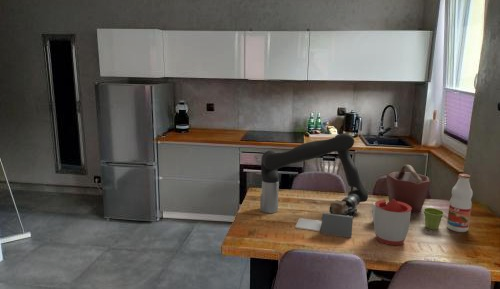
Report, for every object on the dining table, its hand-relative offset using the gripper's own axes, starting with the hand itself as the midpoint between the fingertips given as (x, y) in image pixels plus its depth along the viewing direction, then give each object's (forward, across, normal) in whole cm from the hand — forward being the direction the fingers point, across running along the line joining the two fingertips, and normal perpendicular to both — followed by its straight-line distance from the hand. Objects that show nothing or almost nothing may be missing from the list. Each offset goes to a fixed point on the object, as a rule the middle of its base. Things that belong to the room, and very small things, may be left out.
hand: (336, 214), depth 178 cm
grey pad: (+1, -14, +8) cm, 16 cm away
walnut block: (-3, 0, +8) cm, 9 cm away
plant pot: (-33, +38, +9) cm, 51 cm away
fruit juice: (-39, +49, +9) cm, 63 cm away
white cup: (-23, +15, +9) cm, 29 cm away
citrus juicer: (-6, +24, +9) cm, 26 cm away
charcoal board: (+4, +2, +8) cm, 10 cm away
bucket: (-54, +22, +9) cm, 59 cm away
